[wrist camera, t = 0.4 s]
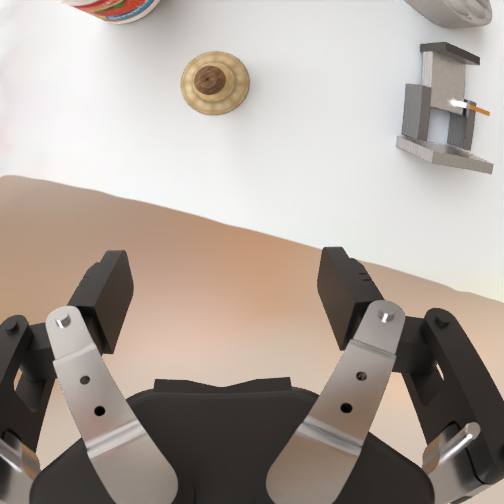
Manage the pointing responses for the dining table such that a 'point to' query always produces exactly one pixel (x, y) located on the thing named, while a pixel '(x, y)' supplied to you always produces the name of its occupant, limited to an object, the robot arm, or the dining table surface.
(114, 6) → the fruit juice
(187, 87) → the hand bell
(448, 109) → the grey boxy piece
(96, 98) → the dining table surface
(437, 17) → the paw print stamp
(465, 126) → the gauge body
